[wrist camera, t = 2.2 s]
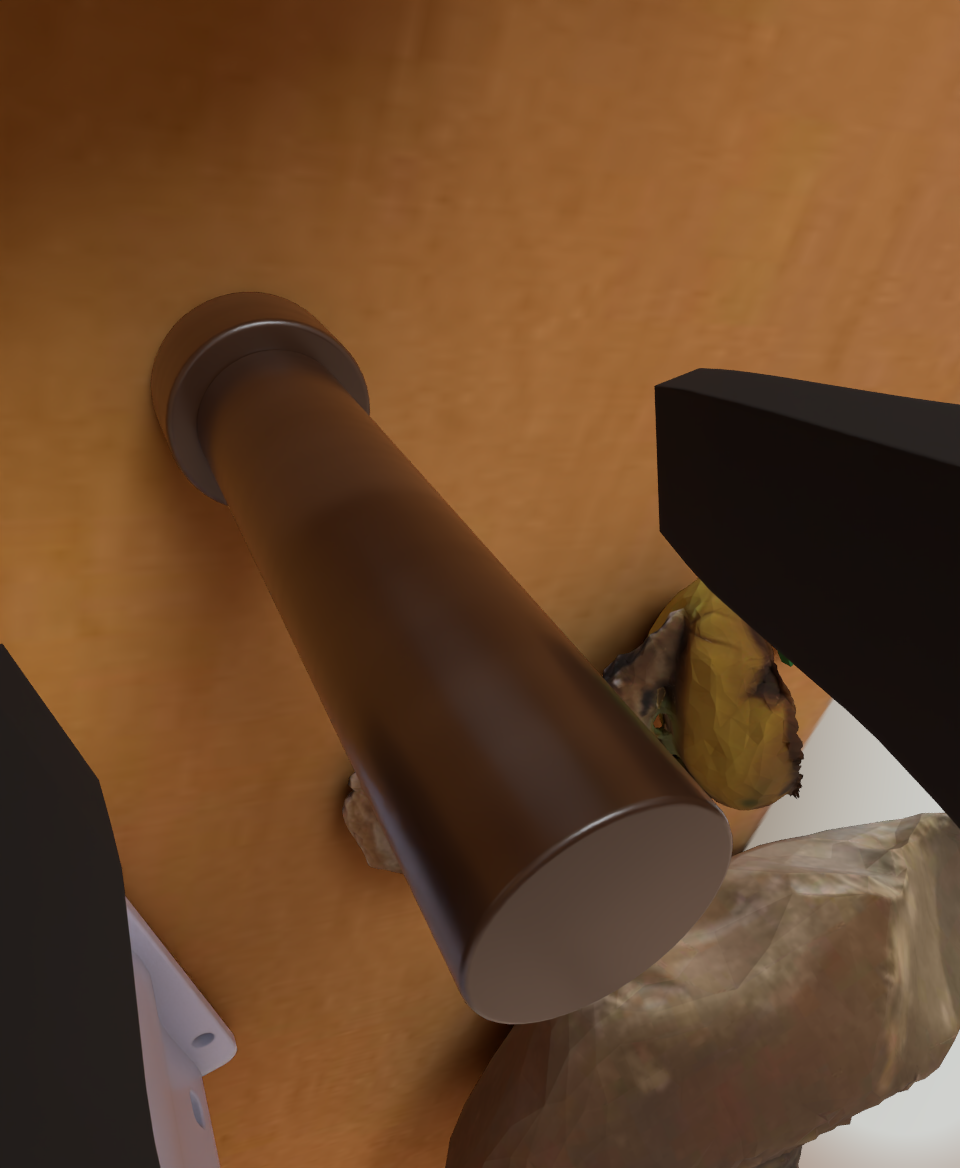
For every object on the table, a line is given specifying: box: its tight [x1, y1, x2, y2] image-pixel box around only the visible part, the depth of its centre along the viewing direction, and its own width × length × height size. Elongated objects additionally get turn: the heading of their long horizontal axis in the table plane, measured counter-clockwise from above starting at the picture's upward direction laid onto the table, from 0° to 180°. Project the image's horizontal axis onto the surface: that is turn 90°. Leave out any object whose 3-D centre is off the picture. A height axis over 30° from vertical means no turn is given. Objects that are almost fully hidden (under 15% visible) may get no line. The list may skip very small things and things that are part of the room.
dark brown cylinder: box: [151, 292, 733, 1024], centre depth 10 cm, size 3×3×10 cm
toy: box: [342, 578, 804, 874], centre depth 20 cm, size 7×5×10 cm
